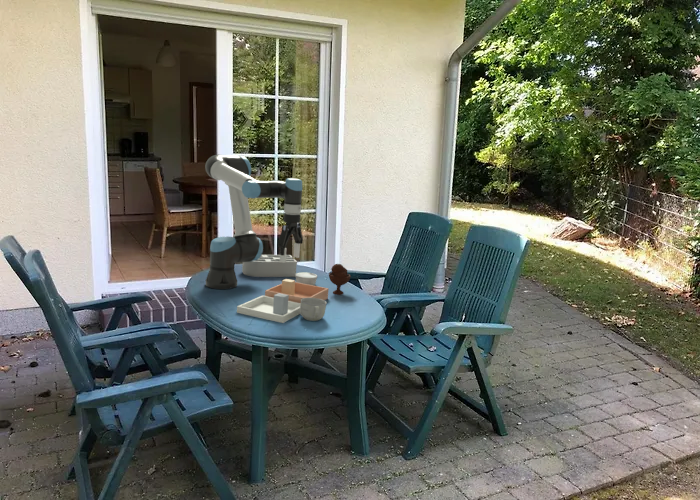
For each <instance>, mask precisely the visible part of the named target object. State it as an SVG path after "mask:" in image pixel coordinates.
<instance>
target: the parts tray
mask: <svg viewBox="0 0 700 500" xmlns="http://www.w3.org/2000/svg"><path fill="white" fill-rule="evenodd" d="M273 304H274V298H273V297H268V296H265V295H260V296H258V297H256V298H253V299H251V300H249V301H246V302H244V303H242V304H239V305H237V306H236V313H237V314H241V315H245V316H249V317H254V318H259V319H263V320H267V321H272V322H276V323H280V324H284V323H286V322H287V321H290V320H292V319H293V318H295V317H297V316H298V315H301V314H300V305H301V303H297V302H292V301H288V313H286V314H284V315H278V314H274V313H273Z"/></svg>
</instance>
